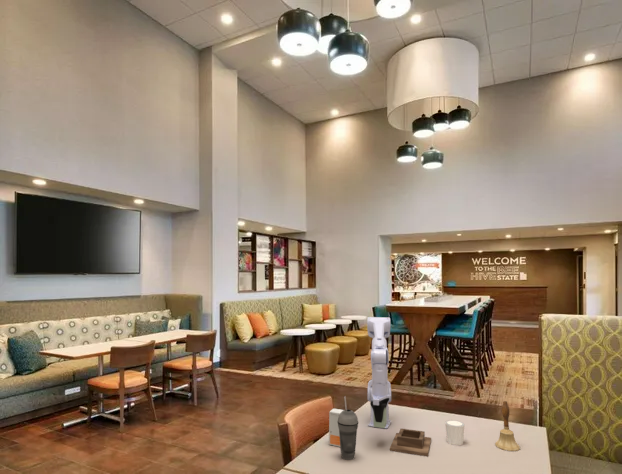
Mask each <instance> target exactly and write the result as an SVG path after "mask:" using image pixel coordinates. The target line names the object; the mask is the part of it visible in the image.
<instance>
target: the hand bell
mask: <svg viewBox="0 0 622 474" xmlns="http://www.w3.org/2000/svg"><path fill="white" fill-rule="evenodd" d="M501 416H502V418H503V429H500V430H499V438H498V440H496V441H495V443H494V446H495V447H496V448H497V449H499V450H503V451H506V450H507V452H517V451H519V450H520V449H521V447H520V445H519V444H518V442H516V439H515V436H514V435H515V434H514V431H512V430H510V425H509V423H510V422H509V419H510V418H509V417H510V407H509V404H508V401H506V400H503V401H502V405H501Z"/></svg>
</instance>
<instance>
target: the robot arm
mask: <svg viewBox="0 0 622 474" xmlns="http://www.w3.org/2000/svg"><path fill="white" fill-rule="evenodd" d="M366 319H367V320H366V321H367V322H366V325H367V326H366V327H367V335H368V337H370V338H372V340H371V350H370V365H371V379H370V380H369V381H368V383H367V401H368V402H369V404H370V421H369V423H368V424H367V426H368V427H373V428H375V427H374V416H375V420H376V422H380V423H381V422H382V419H383V412H384V408H386V419H387V425H386V426H385V428H384V429H388V428H389V427H390V424H391V422H392V420H391V419H390V418H389V417H390V416H389V415H390V412H389V411H390V410H389V408H390V407H389V403H391V402H392V385H391V382H390V381H389V379H388V373H389V372H388V364H389V360H390V359H389V357H390V355H389V350H388V347H387V346H388V342H387V339H388V338H390V335H391V318H390V316H388V317H387V316H386V317H382V316H381V317H380V316H379V317H378V316H368V317H367V318H366Z"/></svg>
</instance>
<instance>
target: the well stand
mask: <svg viewBox="0 0 622 474" xmlns="http://www.w3.org/2000/svg"><path fill="white" fill-rule="evenodd" d="M399 429H400V430H399V432H396V433H395V435H394V438H393V440H392V442H391V444H390V447H389V451H390V452H395V453H401V454H402V453H403V454H410V455H414V456H415V455H416V456H423V457H428V456H429V453H430V449H431V443H432V437H429V436H425V435H426V434H425V431H423V430H416V429H408V428H399Z"/></svg>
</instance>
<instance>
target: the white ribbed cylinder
mask: <svg viewBox="0 0 622 474" xmlns="http://www.w3.org/2000/svg"><path fill="white" fill-rule="evenodd" d="M444 424H445V432H446V433H445V434H446V442H447V443H448V444H449V445H452V446H462V445H464V437H465V435H464V434H465V423H464V422H462V421H461V420H460V421H459V420H453V419H451V420H450V419H449V420H446V421H445V422H444Z"/></svg>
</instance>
